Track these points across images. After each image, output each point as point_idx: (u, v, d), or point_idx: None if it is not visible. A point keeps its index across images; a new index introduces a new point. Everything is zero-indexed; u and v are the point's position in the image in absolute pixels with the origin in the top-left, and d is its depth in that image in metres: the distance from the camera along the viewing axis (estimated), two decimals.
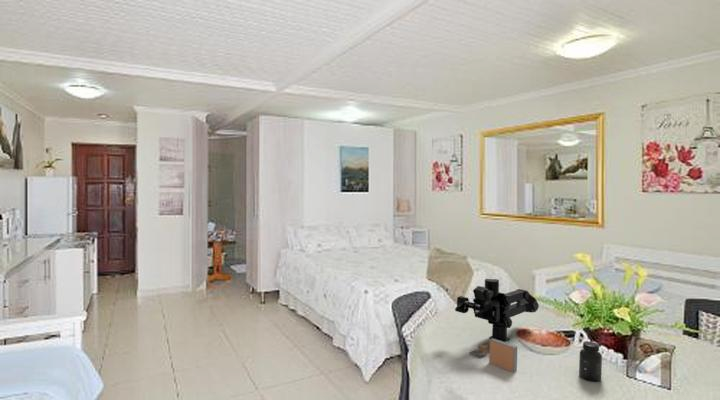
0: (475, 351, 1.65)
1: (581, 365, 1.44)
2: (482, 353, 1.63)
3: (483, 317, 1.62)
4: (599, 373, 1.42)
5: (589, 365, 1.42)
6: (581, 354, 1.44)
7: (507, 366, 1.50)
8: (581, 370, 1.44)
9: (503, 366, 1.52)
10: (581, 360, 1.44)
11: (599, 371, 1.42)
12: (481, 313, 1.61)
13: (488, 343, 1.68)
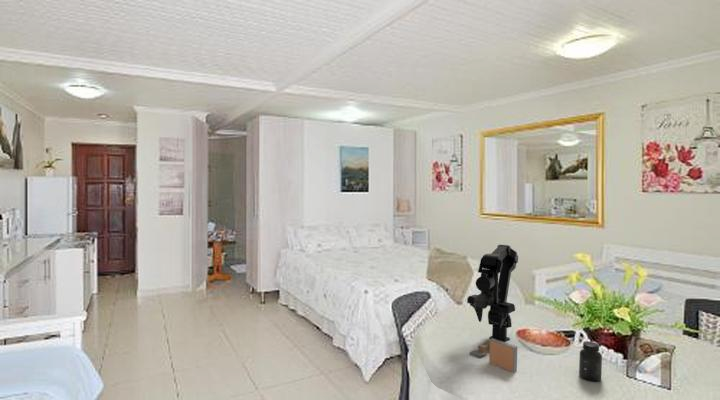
0: (475, 351, 1.65)
1: (581, 365, 1.44)
2: (482, 353, 1.63)
3: (505, 318, 1.64)
4: (599, 373, 1.42)
5: (589, 365, 1.42)
6: (581, 354, 1.44)
7: (507, 366, 1.50)
8: (581, 370, 1.44)
9: (503, 366, 1.52)
10: (581, 360, 1.44)
11: (599, 371, 1.42)
12: (501, 321, 1.64)
13: (488, 343, 1.68)
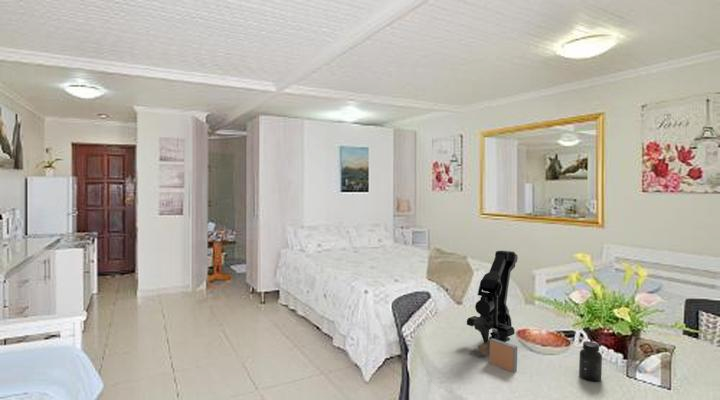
0: (475, 351, 1.65)
1: (581, 365, 1.44)
2: (482, 353, 1.63)
3: (497, 338, 1.67)
4: (599, 373, 1.42)
5: (589, 365, 1.42)
6: (581, 354, 1.44)
7: (507, 366, 1.50)
8: (581, 370, 1.44)
9: (503, 366, 1.52)
10: (581, 360, 1.44)
11: (599, 371, 1.42)
12: None
13: (488, 343, 1.68)
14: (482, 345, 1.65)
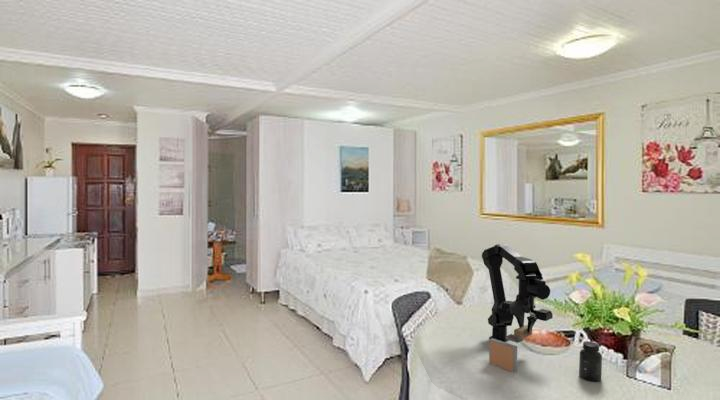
0: (511, 335, 1.59)
1: (581, 365, 1.44)
2: (519, 337, 1.57)
3: (533, 323, 1.62)
4: (599, 373, 1.42)
5: (589, 365, 1.42)
6: (581, 354, 1.44)
7: (507, 366, 1.50)
8: (581, 370, 1.44)
9: (503, 366, 1.52)
10: (581, 360, 1.44)
11: (599, 371, 1.42)
12: (530, 326, 1.61)
13: (524, 328, 1.62)
14: (518, 330, 1.60)
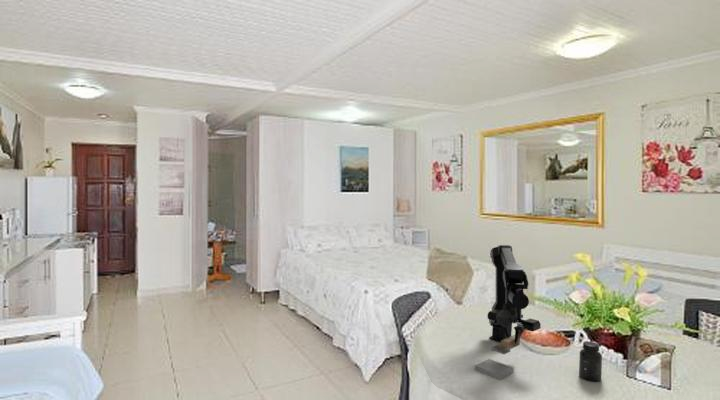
0: (498, 346, 1.53)
1: (581, 365, 1.44)
2: (506, 348, 1.51)
3: (521, 333, 1.55)
4: (599, 373, 1.42)
5: (589, 365, 1.42)
6: (581, 354, 1.44)
7: None
8: (581, 370, 1.44)
9: None
10: (581, 360, 1.44)
11: (599, 371, 1.42)
12: (518, 337, 1.55)
13: (511, 338, 1.56)
14: (505, 340, 1.54)
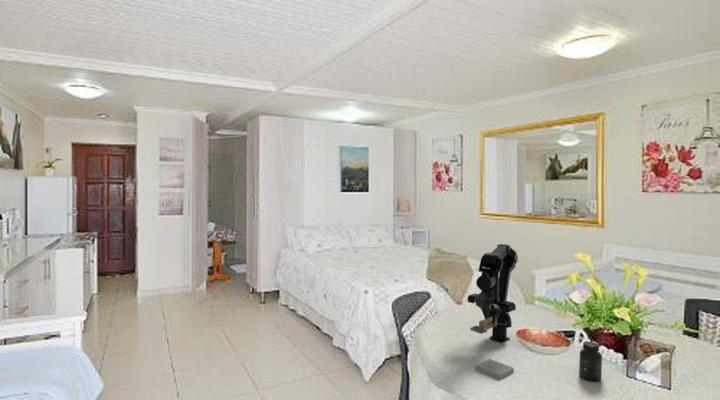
0: (476, 327, 1.64)
1: (581, 365, 1.44)
2: (483, 329, 1.62)
3: (498, 315, 1.67)
4: (599, 373, 1.42)
5: (590, 365, 1.42)
6: (581, 354, 1.44)
7: None
8: (581, 370, 1.44)
9: None
10: (581, 360, 1.44)
11: (599, 371, 1.42)
12: (495, 318, 1.66)
13: (489, 319, 1.67)
14: (483, 321, 1.65)
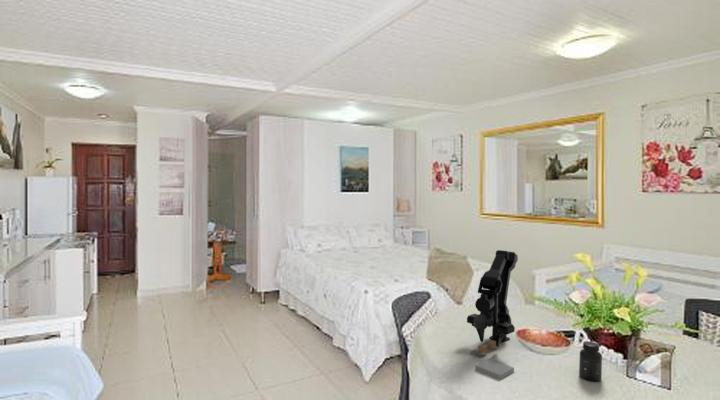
0: (475, 351, 1.65)
1: (581, 365, 1.44)
2: (482, 353, 1.63)
3: (502, 338, 1.65)
4: (599, 373, 1.42)
5: (589, 365, 1.42)
6: (581, 354, 1.44)
7: None
8: (581, 370, 1.44)
9: None
10: (581, 360, 1.44)
11: (599, 371, 1.42)
12: (499, 341, 1.65)
13: (488, 343, 1.68)
14: (482, 345, 1.65)
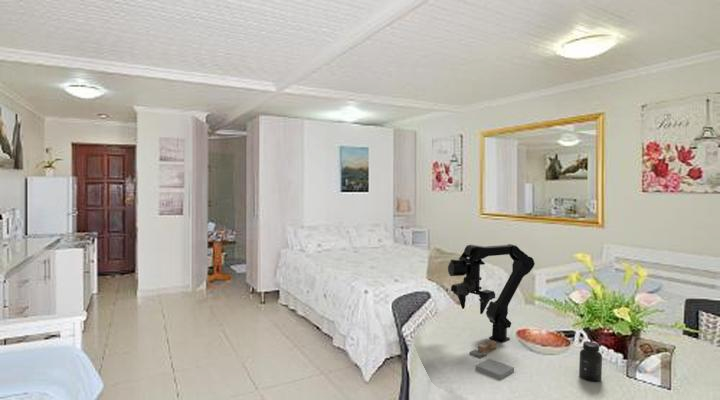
0: (475, 351, 1.65)
1: (581, 365, 1.44)
2: (482, 353, 1.63)
3: (486, 305, 1.73)
4: (599, 373, 1.42)
5: (590, 365, 1.42)
6: (581, 354, 1.44)
7: None
8: (581, 370, 1.44)
9: None
10: (581, 360, 1.44)
11: (599, 371, 1.42)
12: (483, 308, 1.72)
13: (488, 343, 1.68)
14: (482, 345, 1.65)
